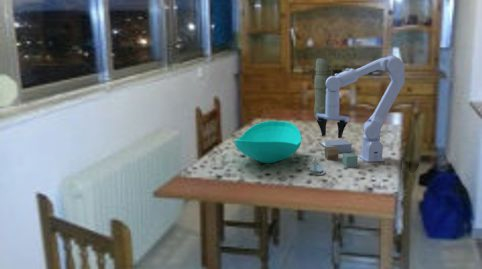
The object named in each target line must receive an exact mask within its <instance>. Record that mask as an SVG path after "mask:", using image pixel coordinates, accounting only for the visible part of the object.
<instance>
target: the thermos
mask: <svg viewBox="0 0 482 269" xmlns="http://www.w3.org/2000/svg"><path fill="white" fill-rule="evenodd" d="M314 69H315V70H314ZM329 70H330V74H329ZM314 72H315V76H314ZM329 75H330V76H329ZM331 76H333V67H332V65H330V61H329V58H327V57H323V56H321V57H318V58H316V62H315V65H313V66H312V68H311V83H312V84H314V86H313V88H314V107H313V115H314V116H313V117H315V118H314V119H316V114H318V113H319V114H325V112H326V89H327V87H326V85H325V83H326V80H327V78H329V77H331Z"/></svg>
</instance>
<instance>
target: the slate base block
mask: <svg viewBox="0 0 482 269" xmlns="http://www.w3.org/2000/svg"><path fill="white" fill-rule="evenodd" d="M324 142H325V147H332V146H335V147H337V148H338V154H341V153H342V154H345V153H352V143H351V142H350V141H348V140H346V139H342V138H340V139H330V140H327V139H326V140H325V141H324ZM325 147H324V148H325Z"/></svg>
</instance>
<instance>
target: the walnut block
mask: <svg viewBox="0 0 482 269" xmlns="http://www.w3.org/2000/svg"><path fill="white" fill-rule="evenodd" d="M324 158H325V159H326V160H327V161H331V160H339V153H338V148H337V147H335V146H332V147H324Z"/></svg>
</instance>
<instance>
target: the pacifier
mask: <svg viewBox="0 0 482 269" xmlns="http://www.w3.org/2000/svg"><path fill="white" fill-rule="evenodd" d="M311 162H312V166H311V168H310V169H309V170H308V171H309V172H310V173H312V174H313V175H316V176H323V175H325V174H326V170H324V169H323V167H322V166H321V165H319V164H318V161H317V158H316V157H313V158H312V160H311Z"/></svg>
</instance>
